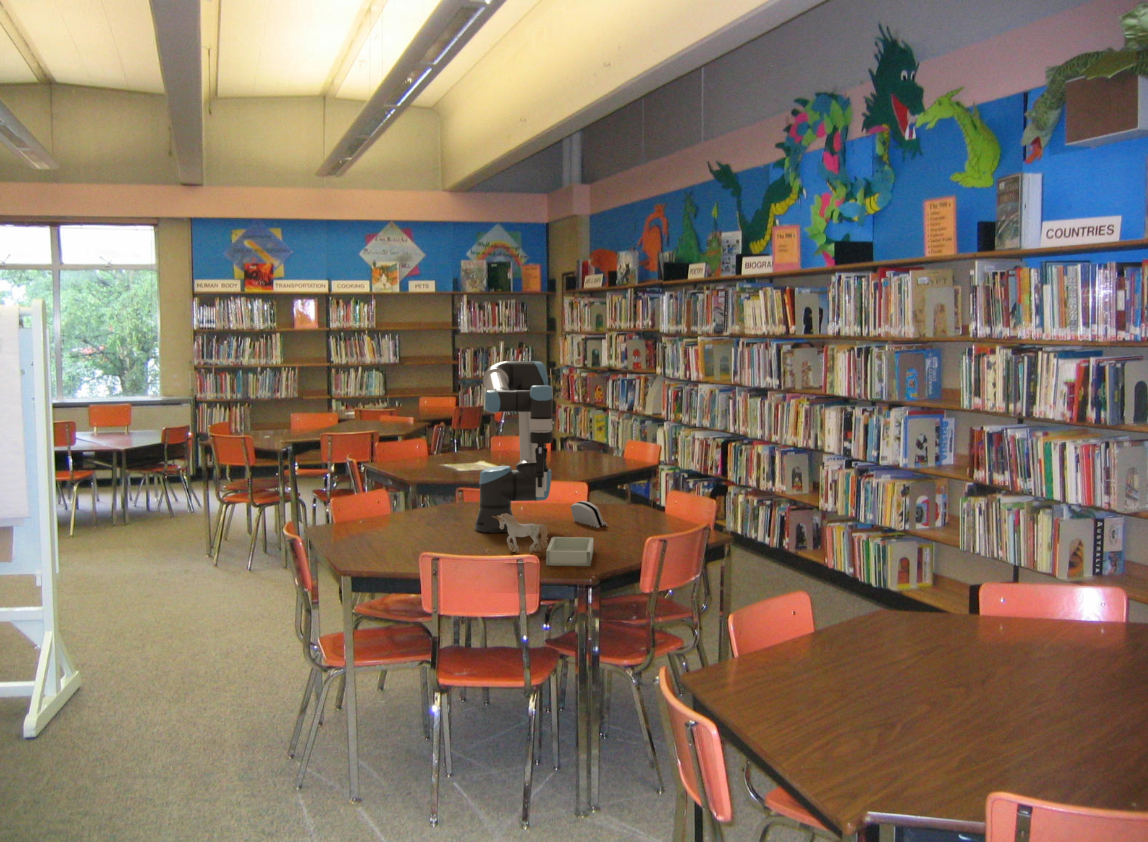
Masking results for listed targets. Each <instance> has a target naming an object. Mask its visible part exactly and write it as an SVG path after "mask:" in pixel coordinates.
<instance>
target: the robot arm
mask: <svg viewBox="0 0 1148 842" xmlns="http://www.w3.org/2000/svg"><path fill="white" fill-rule="evenodd" d="M548 378H549V377H548V373H547V367H546V365H545V364H544V363H543V362H542V361H536V360H535V361H534V360H528V361H527V360H525V361H523V360H521V361H516V360H512V361H511V360H510V361H509V360H505V361H499V362H497V363H494V364H492V365H491V366H489V367H488V368H487V369H486V370H485V371H484V373H483V376H482V383H483V386H484V388H485V389H486V391H485V392H484V409H485V411H486V412H488V413H496V414H497V413H518V431H519V432H518V434H519V435H518V436H519V462H518V463H517V464H516V466H515V467H516V468H515V469H512V467H511V466H510V465H498V466H492V467H487V468H485V469H482V470H481V471H480V474H479V482H478V484H479V510H478V513H477V517H476V520H475V524H474V529H475V530H474V531H476V530H477V532H479V531H481V533H486V532H490V533H489V534H500V532H503V533H508V531H507V525H506V523H505V524H504V529H500V522H499V520H498V519H496V518H494V517H492V516H495V517H498V516H500V515H501V514H505V513H507V514H509V515H511V516H513V517H514V514H513V510H512V502H530V501H531V502H532V501H534V502H537V501H546V500H547V499H548V498H549V495H550V492H551V491H550V490H551V487H552V469H550V468H548V464H547V458H548V447H547V444H552V443H553V437H554V436H553V432H552V430H553V425H555V421H553V401H554V400H553V397H554V394H553V387H552V386H551V385H549V383H548V382H549V379H548ZM497 515H498V516H497Z"/></svg>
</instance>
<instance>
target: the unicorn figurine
mask: <svg viewBox="0 0 1148 842" xmlns="http://www.w3.org/2000/svg"><path fill="white" fill-rule="evenodd" d="M497 516H498V515H497ZM492 517H494V518H496V519H498V520H499V522H500V529H504V524H505V523H506V525H507V531H508V532H507V533H508V536H507V538H506V542H507V546H508V548H509V550H510V551H511V553H512V552H516V553H519V551H520V550H519V549H520V547H519V545H518V544H517V542H518V541H517V538H525V537H528V536H529V537H531V540H533V543H532V544H531V545H529V549H528V551H529V554H530V553H531V554H532V553H533V551H534V552H535V553H537V552H538V551H541V549H542V547H543V548H544V549H546V548H548V546H549V543H548V540H549V538H548V529H547V527H546V526H545V524H543V523H539V524H536V523H532V522H531V523H520V522H519V521H518V520H517V519H516V517H514V515H513V516H511V515H509V514H507V513H505V514H501V515H500V516H498V517H495V516H492ZM540 532H541V533H540ZM539 534H540V537H539ZM511 539H512V542H511ZM512 550H513V551H512Z"/></svg>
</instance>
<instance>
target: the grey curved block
mask: <svg viewBox="0 0 1148 842" xmlns="http://www.w3.org/2000/svg"><path fill="white" fill-rule="evenodd" d="M570 511H571V514H572V519H573V522H576V523H578V524H582V525H585V524H586V525H585V526H588V525H590V526H589V527H592V526H593V528H595V527H596V529H599V528H600V527H601V526H603V525H604V526H603V527H605V526H608V523H607V521H604V519H603V516H602V513H601V511H600V509H599V507H598V506H597V505H595V504H593V503H591V502H589V501H587V500H582V501H578V502H575V503H573V504H572V505H571V506H570Z"/></svg>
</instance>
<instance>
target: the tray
mask: <svg viewBox="0 0 1148 842" xmlns="http://www.w3.org/2000/svg"><path fill="white" fill-rule="evenodd" d="M548 545H549V546H548V547H546V548H547V549H546V551H545V565H546V566H551V567H552V566H554V567H555V566H556V567H560V566H561V567H564V566H565V567H591V566H592V565H591V564H592V560H593V554H594V537H576V536H575V537H572V536H571V537H569V536H552V537H551V538H550V541H549V543H548Z"/></svg>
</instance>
